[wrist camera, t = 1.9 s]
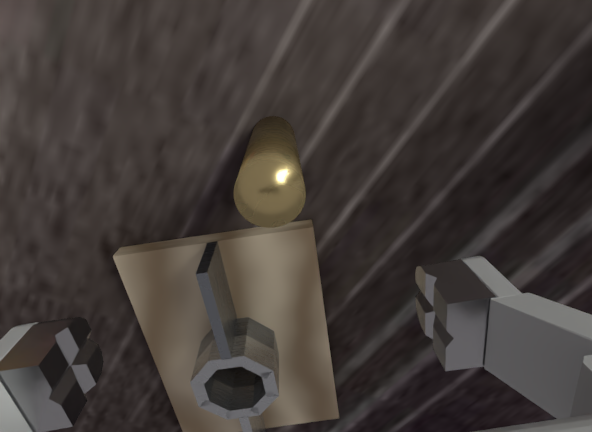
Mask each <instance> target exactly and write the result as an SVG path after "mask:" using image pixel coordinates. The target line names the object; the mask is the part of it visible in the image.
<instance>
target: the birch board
mask: <svg viewBox="0 0 592 432" xmlns="http://www.w3.org/2000/svg"><path fill="white" fill-rule="evenodd" d="M215 241H218V245H219V249H220V253H221V257H222V261H223V265H224V268H225V272H226V276H227V280H228V284H229V288H230V291H231V295H232V299H233V303H234V307H235V311H236V315H237V318H245V317H249V318H251V319H253V320H255V321H257V322H258V323H260V324H262V325H264V326H266V327H268V328H269V329H271V330H273V331H274V333H275V338H276V342H277V347H278V352H279V396H278V397H277V398H276V399H275V400H274V401H273V402H272V403H271V404H270V405H269V406H268V407H267V408H266V409H265V410H264V411H263V413H262V415H263V418H264V422H265V426H266V428H272V427H279V426H286V425H294V424H301V423H308V422H315V421H323V420H330V419H337V418H339V413H338V405H337V398H336V391H335V383H334V376H333V369H332V361H331V354H330V347H329V339H328V332H327V325H326V317H325V310H324V303H323V295H322V288H321V281H320V273H319V266H318V258H317V251H316V244H315V236H314V229H313V223H312V219H310V220H303V221H296V222H289V223H288V224H286V225H283V226H280V227H275V228H266V227H255V228H249V229H242V230H235V231H228V232H221V233H215V234H208V235H201V236H194V237H187V238H180V239H174V240H167V241H160V242H153V243H146V244H140V245H133V246H126V247H120V248H119V249H118V251H117V252H116V253H115V254H114V255H113V259H114V261H115V264H116V266H117V269H118V271H119V274H120V276H121V279H122V281H123V284H124V286H125V289H126V291H127V294H128V296H129V299H130V301H131V304H132V306H133V309H134V311H135V314H136V316H137V319H138V321H139V324H140V326H141V329H142V331H143V334H144V336H145V339H146V341H147V344H148V346H149V349H150V351H151V354H152V356H153V359H154V361H155V364H156V366H157V369H158V371H159V374H160V376H161V379H162V381H163V384H164V386H165V389H166V391H167V394H168V396H169V399H170V401H171V404H172V406H173V409H174V411H175V414H176V416H177V419H178V421H179V424H180V426H181V429H182V431H183V432H242V427H241V424H240V421H239V418H237V419H229V420H227V419H224V418H222V417H220V416H218V415H216V414H213V413H211V412H209V411H207V410H205V409H202V408H200V407H199V406H198V404H197V401H196V398H195V395H194V392H193V390H192V387H191V384H190V381H191V377H192V374H193V370H194V366H195V363H196V359H197V355H198V351H199V348H200V344H201V341H202V340H203V339H204V337H205V336H206V335H207V334H208V332H209V331H210V330H211V329H212V327H211V324H210V321H209V317H208V314H207V311H206V307H205V304H204V301H203V297H202V294H201V291H200V287H199V284H198V281H197V277H196V272H197V269H198V266H199V264H200V261H201V258H202V256H203V253H204V250H205V248H206V245H207V243H208V242H215ZM235 368H239V367H235Z"/></svg>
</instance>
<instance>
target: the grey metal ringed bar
mask: <svg viewBox="0 0 592 432" xmlns="http://www.w3.org/2000/svg"><path fill="white" fill-rule="evenodd" d="M196 277H197V281H198V284H199V287H200V291H201V294H202V297H203V301H204V304H205V307H206V311H207V314H208V317H209V321H210V324H211V327H212V329H211V330H210V331H209V332H208V334H207V335H206V336H205V337H204V339H203V340H202V341H201V344H200V348H199V351H198V355H197V359H196V363H195V366H194V370H193V374H192V377H191V381H190V384H191V387H192V390H193V392H194V395H195V398H196V401H197V404H198V406H199V407H200V408H202V409H205V410H207V411H209V412H211V413H213V414H216V415H218V416H220V417H222V418H224V419H227V420H229V419H237V418H239V421H240V424H241V427H242V431H243V432H266V426H265V422H264V418H263V415H262V413H263V411H264V410H265V409H266V408H267V407H268V406H269V405H270V404H271V403H272V402H273V401H274V400H275V399H276V398H277V397H278V396H279V352H278V347H277V342H276V338H275V333H274V331H273V330H271V329H269V328H268V327H266V326H264V325H262V324H260V323H258V322H257V321H255V320H253V319H251V318H249V317H245V318H237V315H236V311H235V307H234V303H233V299H232V295H231V291H230V288H229V284H228V280H227V276H226V272H225V268H224V265H223V261H222V257H221V253H220V249H219V245H218V241H215V242H208V243H207V245H206V248H205V250H204V253H203V256H202V258H201V261H200V264H199V266H198V269H197V272H196ZM235 367H239V368H235Z"/></svg>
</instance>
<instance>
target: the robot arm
mask: <svg viewBox="0 0 592 432" xmlns="http://www.w3.org/2000/svg"><path fill="white" fill-rule="evenodd" d="M415 281H416V283H417V285H418V286H419V288H420V291H419V293H418V294H417V295H416V310H417V315H418V319H419V322H420V325H421V327H422V329H423V331H424V333H425V335H426V336H428V337H430V338H432V339H433V350H434V352H435V353H436V355H437V357H438V359H439V361H440V362H441V364H442V366H443V368H444V370H445V371H451V370H459V369H467V368H476V367H484V369H486V370H487V371H489V372H490V373H492V374H493V375H495V376H496V377H497V378H499V379H500V380H502V381H503V382H505V383H506V384H508V385H509V386H510V387H512V388H513V389H515V390H516V391H518V392H519V393H521V394H522V395H523V396H525V397H526V398H528V399H529V400H531V401H532V402H534V403H535V404H537V405H538V406H539V407H541V408H542V409H544V410H545V411H547V412H548V413H550V414H551V415H552V416H554V417H555V418H557V419H555V420H548V421H542V422H535V423H528V424H521V425H515V426H508V427H501V428H494V429H488V430H481V431H474V432H592V315H591V314H588V313H585V312H582V311H579V310H577V309H574V308H571V307H568V306H565V305H562V304H560V303H557V302H554V301H551V300H548V299H546V298H543V297H540V296H537V295H534V294H531V293H523V294H522V293H521V292H520V291H519V290H518V289H517V288H516V287H515V286H514V285H513V284H511V283H510V282H509V281H508V280H507V279H506V278H505V277H504V276H503V275H502V274H501V273H500V272H499V271H498V270H497V269H496V268H494V267H493V266H492V265H491V264H490V263H489V262H488V261H487V260H486V259H485V258H484V257H482V256H473V257H468V258H463V259H458V260H453V261H447V262H442V263H436V264H430V265H424V266H418V267H417V268H416V272H415ZM91 331H92V330H91V328H90V326H89V324H88V322H87V320H86V319H84V318H81V317H75V318H67V319H60V320H52V321H44V322H39V323H37V322H36V323H30V324H23V325H19V326H16V327H13V328H12V329H11V330H10V331H9V332H8V333H7V334H6V335H5V336H4V337H3V338H2V339H1V340H0V432H45V431H51V430H56V429H62V428H68V427H73V426H74V424H75V422H76V420H77V418H78V416H79V415H80V413H81V411H82V409H83V407H84V406H85V404H86V402H87V398H86V394H85V393H86V392H87V391H89V390H90V389H91V388H92V387H93V386H95V385H96V383H97V381H98V380H99V378H100V376H101V373H102V367H103V356H102V351H101V349H100V347H99V345H98V344H97V343H96V342H94V341H93V340H91V339H89V336H90V333H91Z"/></svg>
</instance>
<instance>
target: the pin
mask: <svg viewBox="0 0 592 432" xmlns="http://www.w3.org/2000/svg"><path fill="white" fill-rule="evenodd" d="M305 199H306V190H305V185H304V180H303V175H302V170H301V165H300V160H299V154H298V149H297V144H296V139H295V134H294V131H293V128H292V127H291V125H290V124H289V123H288V122H287V121H286V120H284V119H283V118H280V117H276V116H270V117H266V118H264V119H262V120H260V121H259V122H258V123H257V124H256V125H255V127H254V129H253V132H252V135H251V138H250V141H249V144H248V147H247V150H246V153H245V156H244V159H243V162H242V165H241V168H240V171H239V174H238V177H237V180H236V183H235V186H234V201H235V205H236V207H237V209H238V211H239V212H240V214H241V215H242V216H243V217H244V218H245V219H246V220H248V221H249V222H251V223H253V224H255V225H257V226H260V227H266V228H275V227H280V226H283V225H286V224H288V223H289V222H291V221H292V220H294V219H295V218H296V217H297V216H298V215H299V213H300V212H301V210H302V208H303V206H304V203H305Z"/></svg>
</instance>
